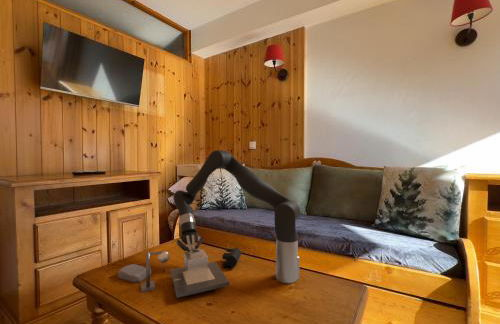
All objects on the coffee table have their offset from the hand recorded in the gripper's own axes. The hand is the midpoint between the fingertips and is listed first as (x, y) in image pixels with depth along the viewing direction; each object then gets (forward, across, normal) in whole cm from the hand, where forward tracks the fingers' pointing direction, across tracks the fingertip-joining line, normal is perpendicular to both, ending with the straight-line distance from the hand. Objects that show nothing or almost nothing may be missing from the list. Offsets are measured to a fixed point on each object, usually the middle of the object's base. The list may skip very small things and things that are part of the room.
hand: (192, 258), depth 111 cm
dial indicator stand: (+9, -16, 0) cm, 19 cm away
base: (+12, 0, -4) cm, 13 cm away
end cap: (+5, +19, +4) cm, 20 cm away
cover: (+7, 0, -3) cm, 8 cm away
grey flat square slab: (+11, 0, -5) cm, 12 cm away
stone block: (0, -23, +9) cm, 25 cm away
